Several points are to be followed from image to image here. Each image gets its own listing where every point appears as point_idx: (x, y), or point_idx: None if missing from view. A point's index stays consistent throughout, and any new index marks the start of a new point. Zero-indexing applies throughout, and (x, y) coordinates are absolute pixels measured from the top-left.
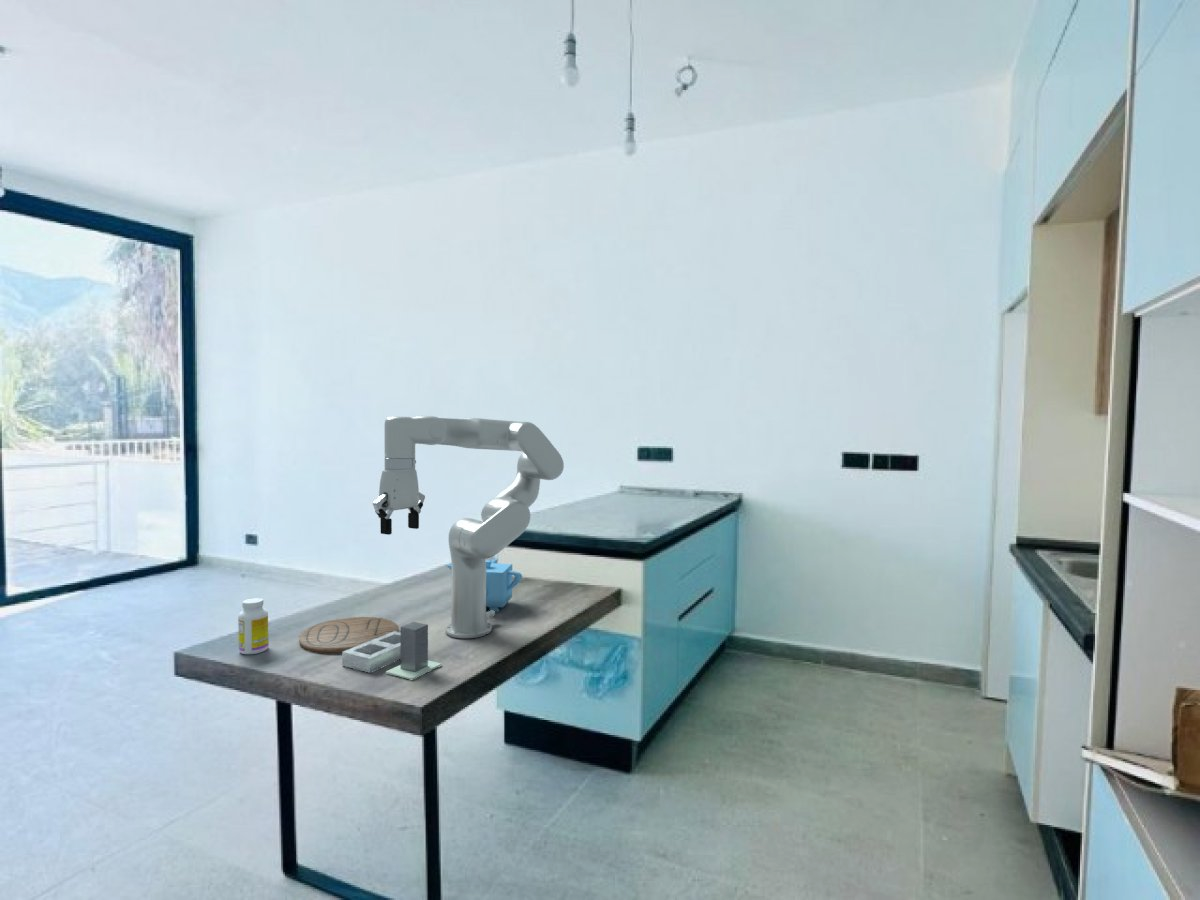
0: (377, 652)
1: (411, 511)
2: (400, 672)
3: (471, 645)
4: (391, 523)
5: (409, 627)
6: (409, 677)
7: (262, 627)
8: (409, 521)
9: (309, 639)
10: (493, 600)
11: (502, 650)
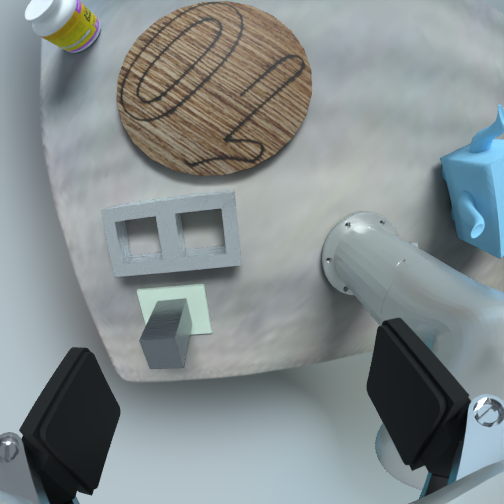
0: (137, 264)
1: (447, 443)
2: (149, 310)
3: (307, 306)
4: (102, 465)
5: (149, 354)
6: None
7: (61, 38)
8: (399, 368)
9: (136, 64)
10: (462, 225)
11: (312, 352)
